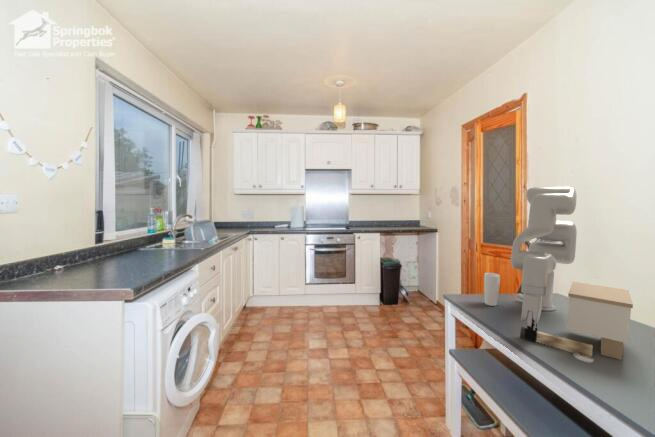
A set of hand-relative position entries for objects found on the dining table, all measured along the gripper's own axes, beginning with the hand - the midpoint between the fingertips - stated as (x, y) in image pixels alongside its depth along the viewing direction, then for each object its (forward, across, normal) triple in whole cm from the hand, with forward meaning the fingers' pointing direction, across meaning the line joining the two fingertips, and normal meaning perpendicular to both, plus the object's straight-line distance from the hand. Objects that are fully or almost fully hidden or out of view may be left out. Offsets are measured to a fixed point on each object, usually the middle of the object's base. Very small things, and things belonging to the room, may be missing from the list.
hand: (530, 338), depth 110 cm
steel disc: (+1, +4, +15) cm, 15 cm away
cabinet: (+1, -12, +18) cm, 21 cm away
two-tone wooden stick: (+1, 0, +7) cm, 7 cm away
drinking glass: (+1, -31, -21) cm, 37 cm away
